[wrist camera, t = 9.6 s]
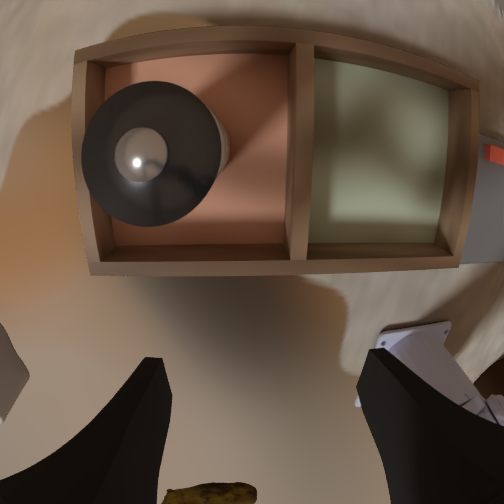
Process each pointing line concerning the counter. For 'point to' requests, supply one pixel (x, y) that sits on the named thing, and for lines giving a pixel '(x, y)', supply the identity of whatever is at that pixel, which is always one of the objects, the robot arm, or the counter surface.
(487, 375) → the olive oil
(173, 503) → the potato
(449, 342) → the counter surface
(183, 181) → the cell
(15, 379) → the lumpy-topped squat cylinder
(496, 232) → the grey square base plate
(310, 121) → the sorting tray
